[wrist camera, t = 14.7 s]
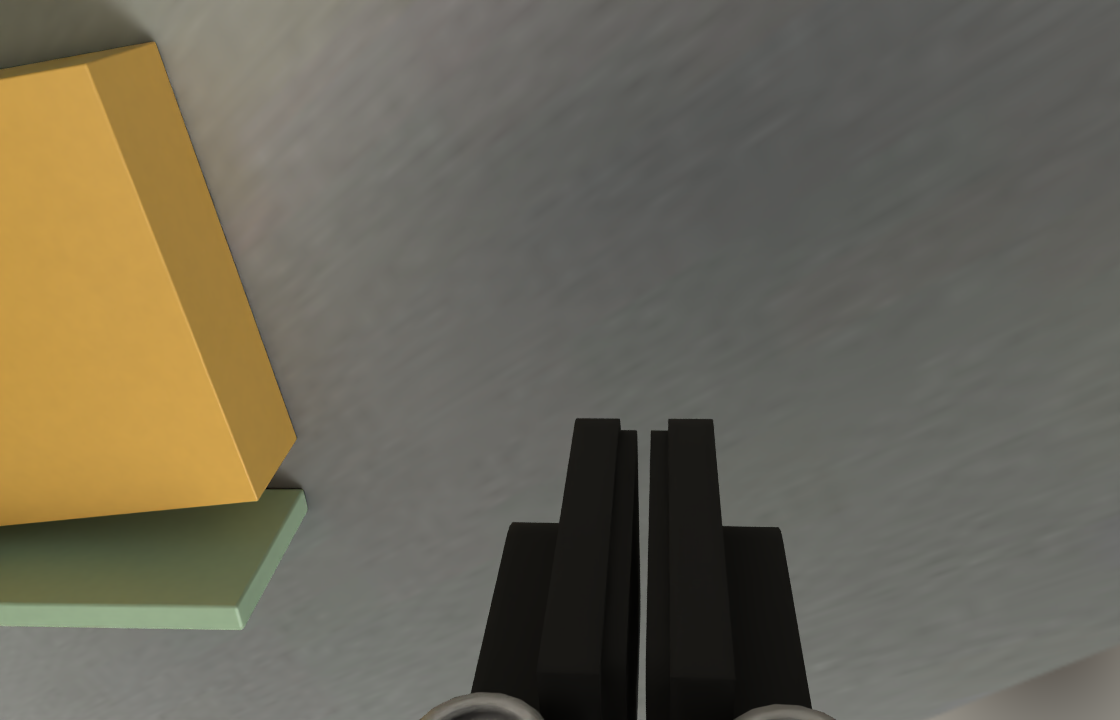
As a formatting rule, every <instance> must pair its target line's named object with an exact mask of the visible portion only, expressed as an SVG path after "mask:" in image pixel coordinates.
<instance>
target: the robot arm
mask: <svg viewBox="0 0 1120 720" xmlns="http://www.w3.org/2000/svg"><path fill="white" fill-rule="evenodd" d="M639 645H640V549H639V498H638V446H637V430H621V426H620V419H591V418H577V419H576V420H575V425H574V432H573V438H572V445H571V451H570V458H569V464H568V470H567V477H566V483H565V490H564V496H563V503H562V509H561V515H560V522H559V523H525V522H512V524H511V525H510V527H509V530H508V533H507V537H506V542H505V546H504V550H503V555H502V559H501V564H500V568H499V572H498V577H497V581H496V585H495V590H494V594H493V598H492V603H491V607H490V612H489V616H488V620H487V625H486V629H485V633H484V638H483V642H482V646H481V651H480V655H479V660H478V664H477V668H476V673H475V677H474V681H473V686H472V690H471V694H467V695H462V696H458V697H454V698H452V699H450V700H448V701H446V702H444V703H442V704H440V705H438V706H436V707H434V708H433V709H431V710H430V711H429V712H428V713H427V714H426V715H425V716H423V717H422V718H421V719H420V720H637V710H638V678H639ZM646 720H836V719H834V718H832V717H830V716H829V715H827V714H825V713H823V712H820V711H816V710H813V709H812V706H811V700H810V694H809V689H808V683H807V677H806V671H805V665H804V660H803V654H802V648H801V642H800V636H799V631H798V625H797V619H796V613H795V607H794V602H793V596H792V590H791V584H790V578H789V573H788V567H787V561H786V555H785V549H784V544H783V539H782V534H781V531H780V529H779V527H734V526H722V518H721V507H720V495H719V483H718V472H717V460H716V449H715V437H714V426H713V420H712V419H668V431H651V449H650V494H649V539H648V584H647V629H646Z"/></svg>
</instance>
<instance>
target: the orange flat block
mask: <svg viewBox="0 0 1120 720" xmlns="http://www.w3.org/2000/svg"><path fill="white" fill-rule="evenodd" d="M296 439H297V438H296V435H295V432H294V429H293V426H292V424H291V421H290V418H289V415H288V412H287V410H286V407H285V404H284V401H283V398H282V396H281V393H280V390H279V387H278V384H277V382H276V379H275V376H274V373H273V370H272V368H271V365H270V362H269V359H268V356H267V354H266V351H265V348H264V345H263V342H262V340H261V337H260V334H259V331H258V328H257V326H256V323H255V320H254V317H253V314H252V312H251V309H250V306H249V303H248V300H247V297H246V295H245V292H244V289H243V286H242V283H241V281H240V278H239V275H238V272H237V269H236V267H235V264H234V261H233V258H232V255H231V253H230V250H229V247H228V244H227V241H226V239H225V236H224V233H223V230H222V227H221V225H220V222H219V219H218V216H217V213H216V211H215V208H214V205H213V202H212V199H211V197H210V194H209V191H208V188H207V185H206V183H205V180H204V177H203V174H202V171H201V169H200V166H199V163H198V160H197V157H196V155H195V152H194V149H193V146H192V143H191V141H190V138H189V135H188V132H187V129H186V127H185V124H184V121H183V118H182V115H181V113H180V110H179V107H178V104H177V101H176V99H175V96H174V93H173V90H172V87H171V85H170V82H169V79H168V76H167V73H166V71H165V68H164V65H163V62H162V59H161V57H160V54H159V51H158V48H157V45H156V43H155V42H147V43H142V44H136V45H131V46H125V47H120V48H115V49H109V50H104V51H98V52H93V53H87V54H82V55H76V56H71V57H66V58H60V59H55V60H49V61H44V62H38V63H33V64H27V65H22V66H17V67H11V68H6V69H0V526H6V525H17V524H27V523H37V522H47V521H58V520H68V519H78V518H88V517H98V516H109V515H119V514H129V513H139V512H149V511H160V510H170V509H180V508H190V507H201V506H211V505H221V504H231V503H241V502H252V501H258V500H259V498H260V497H261V495H262V493H263V492H264V490H265V489H266V487H267V486H268V484H269V482H270V481H271V479H272V478H273V476H274V474H275V473H276V471H277V470H278V468H279V466H280V465H281V463H282V462H283V460H284V458H285V457H286V455H287V454H288V452H289V450H290V449H291V447H292V446H293V444H294V443H295V441H296Z"/></svg>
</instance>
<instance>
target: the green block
mask: <svg viewBox="0 0 1120 720" xmlns="http://www.w3.org/2000/svg"><path fill="white" fill-rule="evenodd" d="M307 510H308V508H307V504H306V500H305V495H304V491H303V490H301V489H265V490H264V492H263V493H262V495H261V497H260V498H259V500H258V501H252V502H241V503H231V504H221V505H211V506H201V507H190V508H180V509H170V510H160V511H149V512H139V513H129V514H119V515H109V516H98V517H88V518H78V519H68V520H58V521H47V522H37V523H27V524H17V525H6V526H0V626H30V627H91V628H153V629H214V630H242V629H243V628H244V627H245V625H246V623H247V622H248V620H249V618H250V616H251V614H252V612H253V610H254V609H255V607H256V605H257V603H258V601H259V599H260V598H261V596H262V594H263V592H264V590H265V588H266V586H267V585H268V583H269V581H270V579H271V577H272V575H273V573H274V572H275V570H276V568H277V566H278V564H279V562H280V561H281V559H282V557H283V555H284V553H285V551H286V549H287V548H288V546H289V544H290V542H291V540H292V538H293V537H294V535H295V533H296V531H297V529H298V527H299V525H300V524H301V522H302V520H303V518H304V516H305V514H306V512H307Z"/></svg>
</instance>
